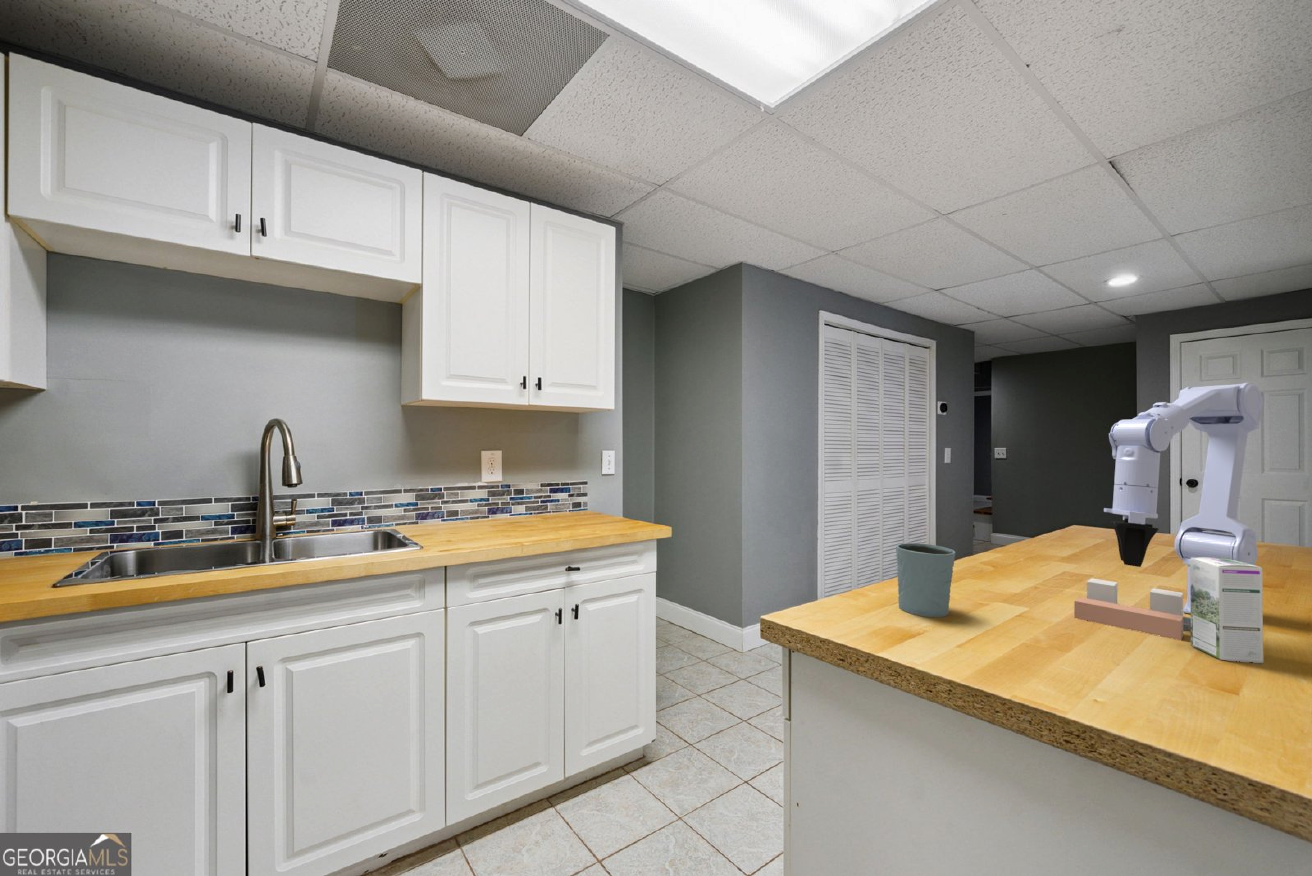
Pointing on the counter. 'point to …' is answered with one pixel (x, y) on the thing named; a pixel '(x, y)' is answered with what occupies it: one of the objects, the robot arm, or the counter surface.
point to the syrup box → (1227, 609)
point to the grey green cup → (924, 578)
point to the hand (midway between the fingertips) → (1130, 563)
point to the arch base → (1158, 598)
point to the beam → (1129, 617)
